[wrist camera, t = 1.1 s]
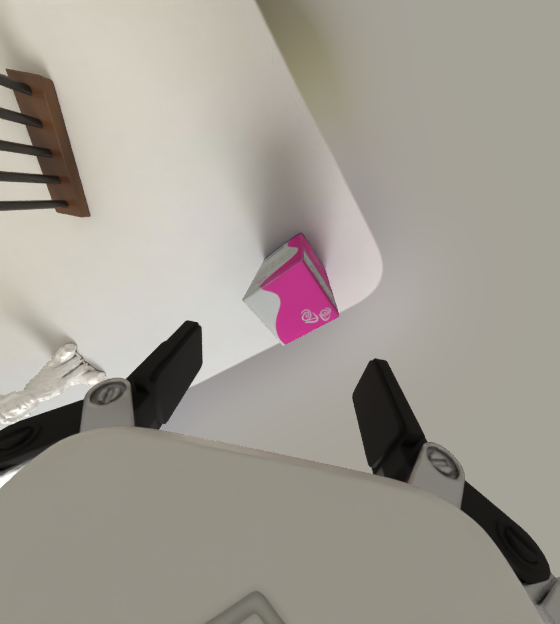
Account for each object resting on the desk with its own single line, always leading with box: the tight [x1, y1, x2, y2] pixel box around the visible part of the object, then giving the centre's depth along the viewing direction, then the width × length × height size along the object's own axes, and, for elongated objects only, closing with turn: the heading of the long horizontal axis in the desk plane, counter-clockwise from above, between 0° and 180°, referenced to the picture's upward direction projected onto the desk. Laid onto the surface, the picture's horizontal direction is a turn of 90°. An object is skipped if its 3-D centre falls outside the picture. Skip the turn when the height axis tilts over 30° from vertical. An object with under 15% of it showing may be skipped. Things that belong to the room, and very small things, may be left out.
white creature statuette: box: [0, 343, 106, 424], centre depth 35 cm, size 10×9×12 cm
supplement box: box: [243, 233, 339, 345], centre depth 21 cm, size 6×6×12 cm
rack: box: [0, 69, 90, 217], centre depth 19 cm, size 12×3×8 cm, turn 171°
